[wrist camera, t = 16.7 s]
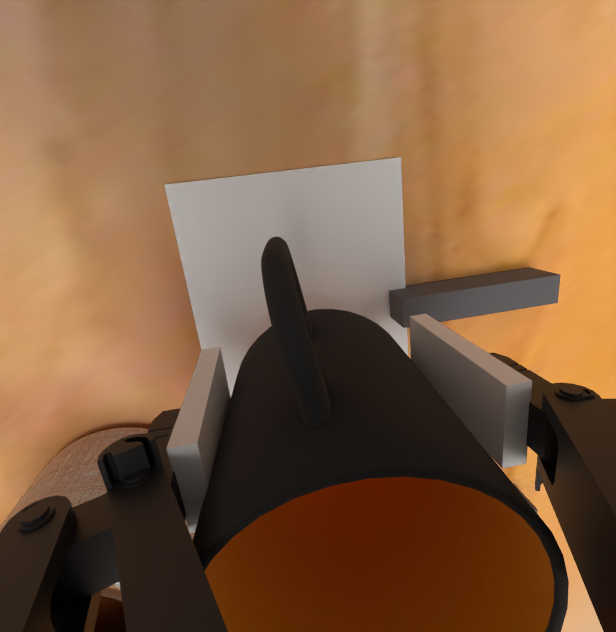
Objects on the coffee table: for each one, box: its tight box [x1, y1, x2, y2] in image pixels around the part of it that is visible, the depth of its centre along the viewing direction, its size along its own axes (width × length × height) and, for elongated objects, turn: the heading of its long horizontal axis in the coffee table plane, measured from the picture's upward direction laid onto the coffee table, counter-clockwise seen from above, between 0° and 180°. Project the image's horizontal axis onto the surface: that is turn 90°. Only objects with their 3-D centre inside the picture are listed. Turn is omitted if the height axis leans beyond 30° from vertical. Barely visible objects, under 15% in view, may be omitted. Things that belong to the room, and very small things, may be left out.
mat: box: [164, 157, 408, 397], centre depth 21 cm, size 16×12×1 cm
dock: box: [389, 267, 560, 513], centre depth 21 cm, size 24×9×11 cm, turn 7°
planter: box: [0, 427, 195, 632], centre depth 19 cm, size 11×11×10 cm
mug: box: [193, 237, 569, 632], centre depth 12 cm, size 8×12×10 cm
